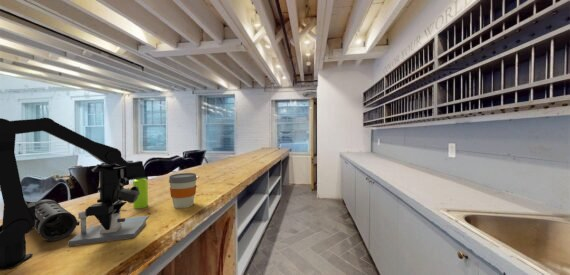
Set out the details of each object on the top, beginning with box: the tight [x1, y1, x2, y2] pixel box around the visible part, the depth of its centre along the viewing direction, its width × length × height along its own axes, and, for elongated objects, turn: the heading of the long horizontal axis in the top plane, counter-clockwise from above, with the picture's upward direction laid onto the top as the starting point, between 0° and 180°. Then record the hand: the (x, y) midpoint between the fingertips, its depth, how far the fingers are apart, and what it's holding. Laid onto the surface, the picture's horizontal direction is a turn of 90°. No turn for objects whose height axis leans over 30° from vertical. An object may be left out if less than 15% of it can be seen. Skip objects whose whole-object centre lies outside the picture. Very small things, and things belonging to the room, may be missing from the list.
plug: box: [100, 212, 126, 233], centre depth 78 cm, size 5×6×6 cm
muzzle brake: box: [33, 199, 81, 241], centre depth 82 cm, size 10×28×10 cm
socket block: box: [67, 218, 147, 247], centre depth 77 cm, size 12×18×6 cm, turn 106°
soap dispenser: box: [132, 177, 149, 209], centre depth 107 cm, size 6×7×20 cm
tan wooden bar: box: [78, 208, 89, 220], centre depth 81 cm, size 2×15×2 cm, turn 15°
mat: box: [121, 215, 149, 223], centre depth 89 cm, size 8×8×1 cm
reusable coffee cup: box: [168, 172, 198, 209], centre depth 109 cm, size 13×13×15 cm
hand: (111, 226), depth 77 cm, fingers closed on plug, 5 cm apart
